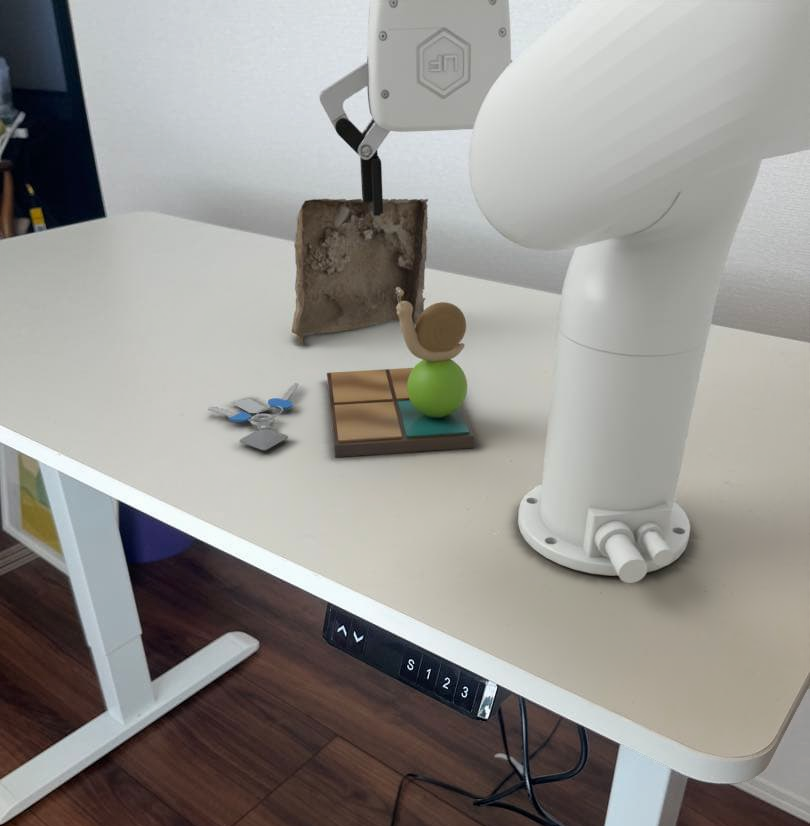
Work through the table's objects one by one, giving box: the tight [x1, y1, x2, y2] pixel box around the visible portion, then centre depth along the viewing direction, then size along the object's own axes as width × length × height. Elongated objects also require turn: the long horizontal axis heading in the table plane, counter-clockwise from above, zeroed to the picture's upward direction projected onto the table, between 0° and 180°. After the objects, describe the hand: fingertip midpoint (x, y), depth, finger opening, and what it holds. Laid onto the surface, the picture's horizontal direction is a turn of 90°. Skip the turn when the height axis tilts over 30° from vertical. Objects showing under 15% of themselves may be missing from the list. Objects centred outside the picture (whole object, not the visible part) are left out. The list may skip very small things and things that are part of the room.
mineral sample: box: [291, 198, 429, 346], centre depth 93 cm, size 17×4×15 cm, turn 115°
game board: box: [326, 367, 476, 458], centre depth 78 cm, size 16×12×1 cm
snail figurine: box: [395, 287, 468, 418], centre depth 72 cm, size 5×6×12 cm
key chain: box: [207, 382, 299, 452], centre depth 77 cm, size 14×8×1 cm, turn 1°
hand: (437, 208), depth 65 cm, fingers open, 9 cm apart
